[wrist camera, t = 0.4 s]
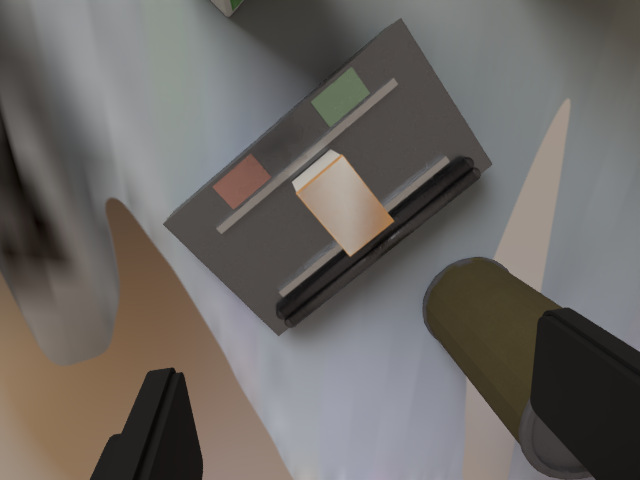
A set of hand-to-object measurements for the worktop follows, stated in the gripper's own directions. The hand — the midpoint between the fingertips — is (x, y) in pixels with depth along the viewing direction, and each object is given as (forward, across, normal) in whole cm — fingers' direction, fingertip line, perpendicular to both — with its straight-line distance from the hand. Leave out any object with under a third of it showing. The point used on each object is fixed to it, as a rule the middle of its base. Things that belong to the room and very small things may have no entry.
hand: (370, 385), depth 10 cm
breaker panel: (+28, -3, 0) cm, 28 cm away
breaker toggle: (+24, -3, 0) cm, 24 cm away
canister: (+28, -18, +14) cm, 36 cm away
